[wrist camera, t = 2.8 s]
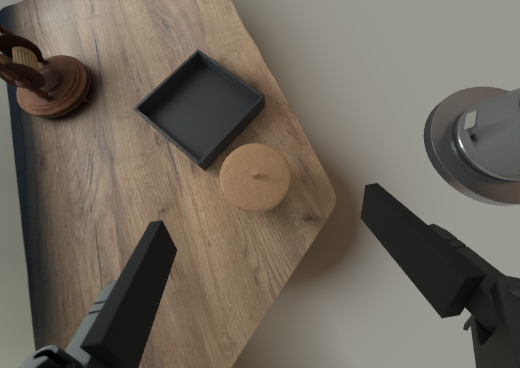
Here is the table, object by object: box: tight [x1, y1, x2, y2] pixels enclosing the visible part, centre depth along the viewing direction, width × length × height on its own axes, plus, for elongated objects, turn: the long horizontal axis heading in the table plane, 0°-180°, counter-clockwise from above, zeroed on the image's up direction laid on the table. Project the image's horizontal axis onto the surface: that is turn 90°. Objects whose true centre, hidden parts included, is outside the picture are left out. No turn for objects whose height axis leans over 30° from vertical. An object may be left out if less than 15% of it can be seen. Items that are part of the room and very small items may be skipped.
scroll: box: [0, 24, 91, 118], centre depth 35 cm, size 15×15×20 cm
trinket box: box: [220, 143, 291, 213], centre depth 33 cm, size 11×11×9 cm
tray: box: [133, 50, 265, 171], centre depth 41 cm, size 18×18×3 cm
